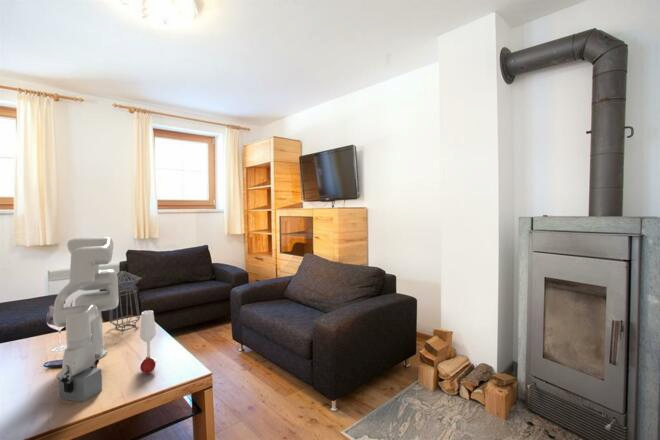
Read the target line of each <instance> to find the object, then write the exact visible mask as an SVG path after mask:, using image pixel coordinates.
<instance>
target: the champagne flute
mask: <svg viewBox="0 0 660 440" xmlns="http://www.w3.org/2000/svg"><path fill="white" fill-rule="evenodd" d="M139 331H140V332H139V338H140V339H141V340H142V341H143V342H145V343H146V357H150V358H152V359H153V360H154V361H155V363H156V362H157V360H158V359H157V358H155V357H151V351H150V350H151V346H150V345H151V344H150V343H151V341H152V340H153V339H154V338H155V337H156V335H157V331H156V322H155V314H154V310H144V311H142V312H141V315H140V330H139ZM144 360H145V359H144ZM144 360H142V361H141V362H140V364H141V363H142V362H143V361H144Z"/></svg>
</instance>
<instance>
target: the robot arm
mask: <svg viewBox="0 0 660 440" xmlns="http://www.w3.org/2000/svg"><path fill="white" fill-rule="evenodd" d="M66 246H67V250H68V252H69V253H70V264H69V265H70V269H69V282H68V284H66V285H65V286H64V287H63V288H62V289H61V290H60V291H59V293H58V294H57V296H56V298H55V300H54V303H53V304H54V305H53V313H52V315H53V317H52V319H53V320H52V321H53V324H54V325H55V326H56V327H58V328H63V327H64V328H65V335H66V337H65V338H66V339H65V340H66V348H65V349H64V351H63V357H62V366H61V367H62V368H61V370H60V372H59V373H57V375H56V376H55V377H56V379H57V380H58V382H59V381H60V382H62V383H64V392H67V393H72V392H73V382H71V380H72V379H73V377H74V375H77V374H78V373H80V372H82V371H84V370H86V369H88V368H98V364H99V362H100V359H101V358H103V357H104V356H106V355H107V353H108V350H107V349H106V348H104V338H103V335H104V334H103V318H102V317H101V316H100V315H99V312H105V311H110V310H111V311H112V309H113V310H114V309H117V306H119V303H120V298H119V296H118V295H119V285H118V283H119V281H118V280H119V279H118V277H117V272H116V270H114V269H111V268H110V269H100V265H101V266H102V265H107V264H110V263H111V261H112V258H113V251H114V241H113V239H112V238H111V237H109V236H97V237H89V236H88V237H79V238H77V237H76V238H72V239H70V240H68V242H67V244H66ZM79 290H80V291H82V292H86V293H82V294H79V295H78V296H77V297H76V298H75V299H74V305H73V306H65V305H64V304H65V302H66V299H68V298H69V297H70V296H71V295H73V294H74V293H76V292H78V291H79ZM97 290H104V291H97ZM89 291H93V292H89ZM70 373H71V374H70ZM64 375H65V376H64ZM68 376H70V377H69V379H67V378H68Z"/></svg>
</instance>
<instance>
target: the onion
mask: <svg viewBox="0 0 660 440" xmlns="http://www.w3.org/2000/svg"><path fill="white" fill-rule="evenodd" d="M150 357H151V356H150ZM150 357H147V356H146V357H145V359H144V361H143V360H142V361H143V362H142V361H141V362H142V363H141V362H140V367H139V370H140V371H141V372H142V373H143V374H146V375H149V374H151V373H152V372H153V371H155V368H156V362H155V361H154V360H153V359H152V358H153V357H151V358H150Z"/></svg>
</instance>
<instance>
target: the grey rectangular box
mask: <svg viewBox="0 0 660 440" xmlns="http://www.w3.org/2000/svg"><path fill="white" fill-rule="evenodd" d="M102 373H103V372H102V368H98V367H97V368H88V369H86V370H84V371H82V372H80V373H78V374H77V375H74V377H73V379H72V380H71V382H73V392H72V393H67V392H64V383H62V382H60V381H59V380H58V387H59V388H58V393H59V394H58V395H59V400H67V401H76V402H84V403H85V402H87V401H88V400H89V399H91V398H92V397H94V396H96V395H97V394H99V393H101V391H102V390H103V381H102V380H103V377H102ZM70 374H71V373H70ZM64 376H65V375H64ZM69 377H70V376H68V378H67V379H69Z"/></svg>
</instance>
